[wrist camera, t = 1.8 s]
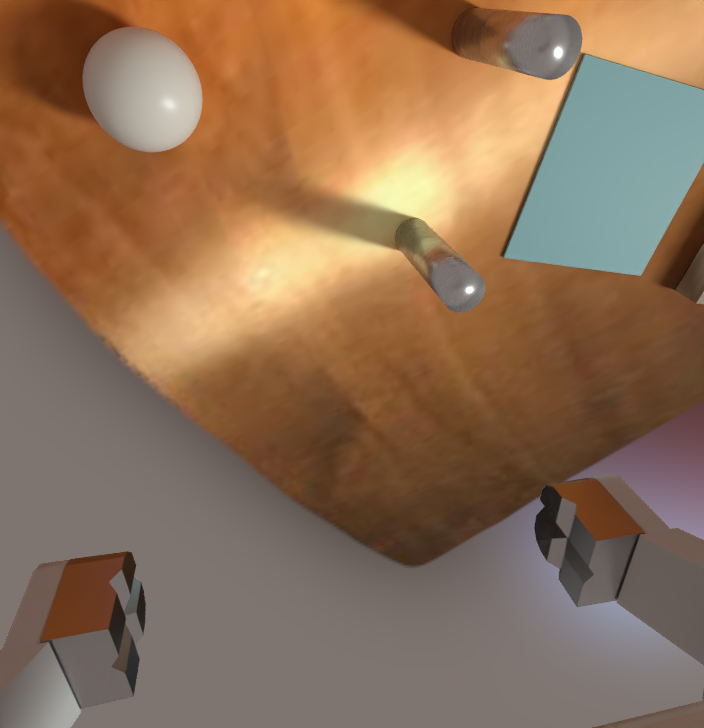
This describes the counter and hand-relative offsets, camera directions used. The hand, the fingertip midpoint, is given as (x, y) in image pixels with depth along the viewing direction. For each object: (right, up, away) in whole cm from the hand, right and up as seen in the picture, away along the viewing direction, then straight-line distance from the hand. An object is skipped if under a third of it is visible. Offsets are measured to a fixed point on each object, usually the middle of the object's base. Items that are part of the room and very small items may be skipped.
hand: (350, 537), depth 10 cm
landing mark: (+20, +17, +30) cm, 40 cm away
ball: (-10, +17, +16) cm, 26 cm away
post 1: (+4, +13, +28) cm, 31 cm away
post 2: (+7, +23, +21) cm, 32 cm away
